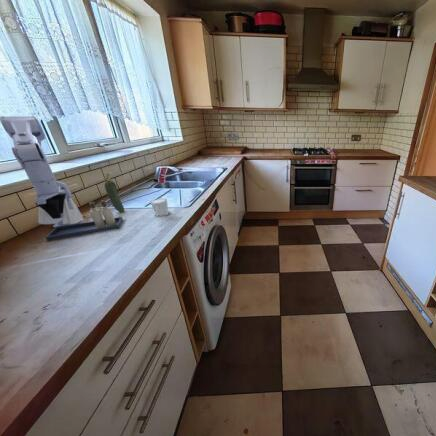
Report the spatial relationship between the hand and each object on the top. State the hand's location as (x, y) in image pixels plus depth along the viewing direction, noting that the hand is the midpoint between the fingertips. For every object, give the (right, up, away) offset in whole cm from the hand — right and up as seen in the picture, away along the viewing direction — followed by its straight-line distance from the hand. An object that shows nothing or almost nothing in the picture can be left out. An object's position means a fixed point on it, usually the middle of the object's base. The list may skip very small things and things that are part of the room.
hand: (59, 215), depth 85 cm
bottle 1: (+5, -5, +12) cm, 14 cm away
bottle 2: (+9, -4, +14) cm, 17 cm away
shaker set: (0, -3, +2) cm, 4 cm away
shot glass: (+24, +1, +26) cm, 35 cm away
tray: (+1, -6, +11) cm, 12 cm away
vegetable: (+2, +2, +27) cm, 27 cm away
